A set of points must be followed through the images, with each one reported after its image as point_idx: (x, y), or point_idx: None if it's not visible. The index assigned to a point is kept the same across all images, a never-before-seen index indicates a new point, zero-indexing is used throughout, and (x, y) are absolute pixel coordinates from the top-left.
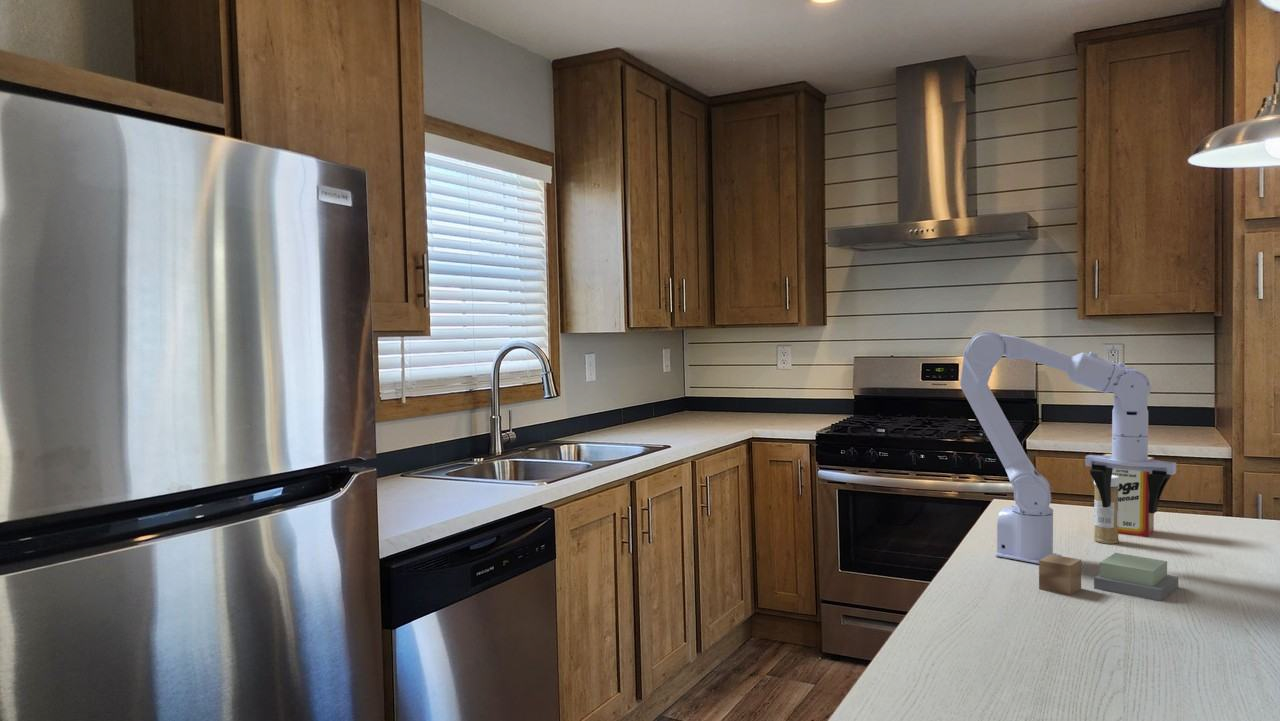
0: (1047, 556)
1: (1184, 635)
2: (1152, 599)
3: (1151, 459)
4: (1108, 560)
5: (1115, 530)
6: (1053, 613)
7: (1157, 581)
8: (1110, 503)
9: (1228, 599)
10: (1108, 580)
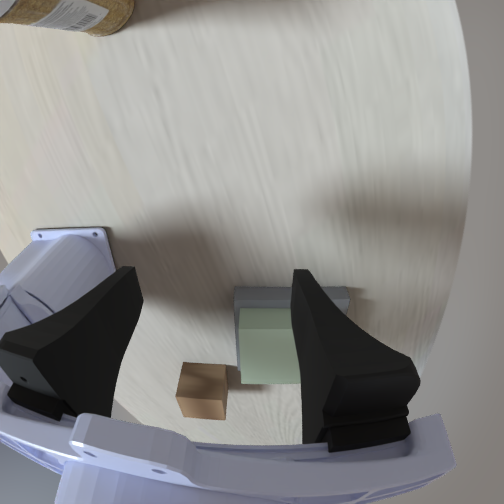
0: (179, 404)
1: None
2: None
3: (307, 494)
4: (248, 372)
5: (116, 5)
6: (241, 423)
7: None
8: (131, 272)
9: (409, 299)
10: None
